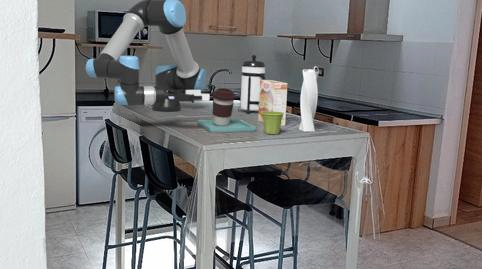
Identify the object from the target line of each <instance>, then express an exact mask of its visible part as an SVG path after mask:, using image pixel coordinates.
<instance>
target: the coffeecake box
mask: <svg viewBox="0 0 482 269" xmlns="http://www.w3.org/2000/svg"><path fill="white" fill-rule="evenodd" d="M287 95H288V82H282V81H278V80H273V79H265V80H260V95H259V111H258V119H257V121H258V122H260V123H262V124H264V122H263V116H262V114H261V112H264V111H276V112H282V113H284V115H283V118H282V121H281V126H280V127H285V126H286V118H287V116H286V115H287V100H288V99H287V98H288V96H287Z"/></svg>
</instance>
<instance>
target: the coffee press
mask: <svg viewBox="0 0 482 269" xmlns="http://www.w3.org/2000/svg"><path fill="white" fill-rule="evenodd" d="M251 58H252V59H246V60H244V61H243V62H242V63H241V71H240V72H241V77H240V81H241V82H240V104H239V107H238V108H237V112H241V111H243V110H244V111H246V114H250V113H251V112H254V111H255V112H256V111H257V112H259V95H260V80H266V67H267V66H266V63H265V62H264V61H263V60H258V59H257V55H256V54H252V56H251Z"/></svg>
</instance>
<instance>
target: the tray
mask: <svg viewBox="0 0 482 269" xmlns="http://www.w3.org/2000/svg"><path fill="white" fill-rule="evenodd" d="M197 125H198V126H200V127H201V128H203V129H204V130H206V131H207V132H208V133H244V132H249V133H250V132H251V131H252V133H253V131H255V132H257V126H254V125H252V124H251V123H250V122H249V123H248V122H246V121H245V120H242V119H230V122H229V124H228V125H226V126H219V125H216V124H214V123H213V119H198V120H197Z"/></svg>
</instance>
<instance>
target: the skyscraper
mask: <svg viewBox="0 0 482 269" xmlns="http://www.w3.org/2000/svg"><path fill="white" fill-rule="evenodd" d="M316 68H317V69H316ZM316 70H317V71H316ZM319 72H320V70H319V67H318V66H316V65H315V66H314V67H313V69H310V68H308V69H305V68H304V69H303V70H302V76H303V81H302V85H301V91H300V99H299V100H300V102H299V103H300V105H299V106H300V116H301V117H300V118H301V121H300V123H299V124H300V125H299V128H297V129H296V130H298V131H299V130H300V132H301V133H319V132H320V131H319V130H317V129H315V125H314V118H315V116H316V111H317V106H318V94H319V93H318V92H319V90H318V82H317V80H318V77H319Z"/></svg>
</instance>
